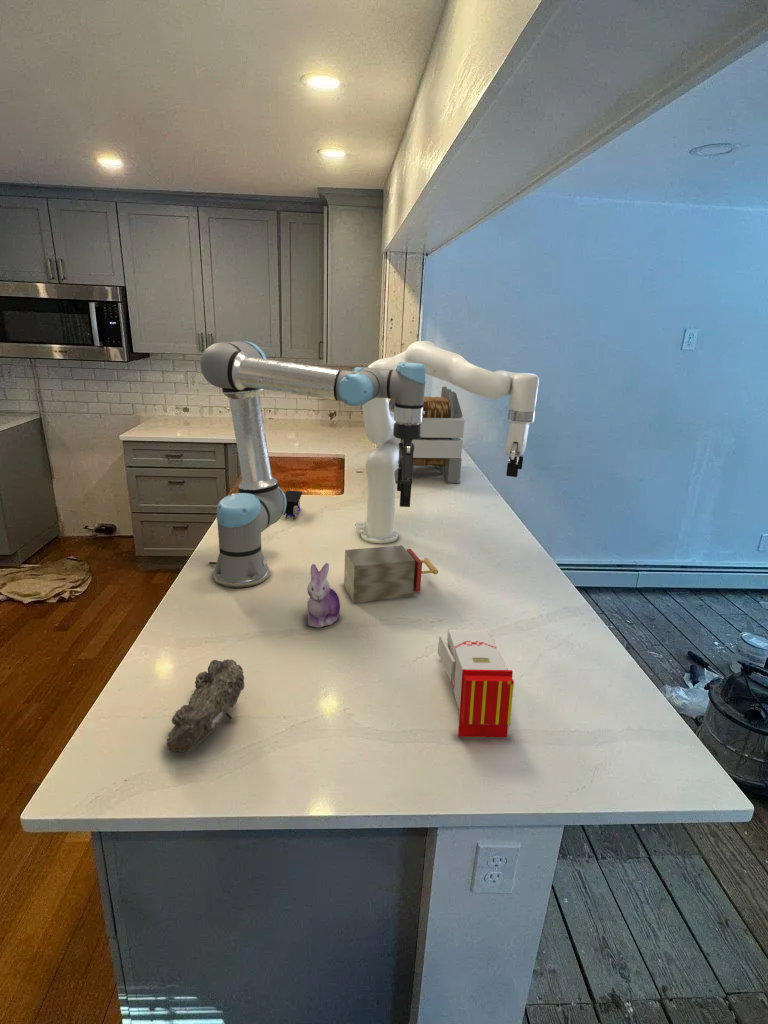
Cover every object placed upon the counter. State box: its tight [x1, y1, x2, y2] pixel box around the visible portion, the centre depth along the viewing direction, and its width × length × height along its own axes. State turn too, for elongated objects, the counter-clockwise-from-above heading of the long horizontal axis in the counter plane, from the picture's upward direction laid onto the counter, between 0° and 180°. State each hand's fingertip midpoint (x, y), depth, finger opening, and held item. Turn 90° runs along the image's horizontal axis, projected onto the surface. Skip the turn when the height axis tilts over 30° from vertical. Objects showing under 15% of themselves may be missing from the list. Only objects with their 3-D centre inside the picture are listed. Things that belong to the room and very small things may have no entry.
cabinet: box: [343, 544, 415, 604], centre depth 157 cm, size 17×11×11 cm, turn 107°
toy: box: [437, 628, 515, 738], centre depth 117 cm, size 12×13×30 cm
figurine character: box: [282, 490, 303, 520], centre depth 212 cm, size 7×8×15 cm
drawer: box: [406, 548, 439, 593], centre depth 159 cm, size 21×10×9 cm, turn 107°
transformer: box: [388, 386, 465, 484], centre depth 268 cm, size 34×33×41 cm
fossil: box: [166, 658, 245, 754], centre depth 106 cm, size 22×10×15 cm
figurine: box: [306, 562, 341, 628], centre depth 141 cm, size 9×10×15 cm
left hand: (403, 498), depth 158 cm, fingers open, 13 cm apart
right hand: (514, 472), depth 173 cm, fingers open, 9 cm apart
